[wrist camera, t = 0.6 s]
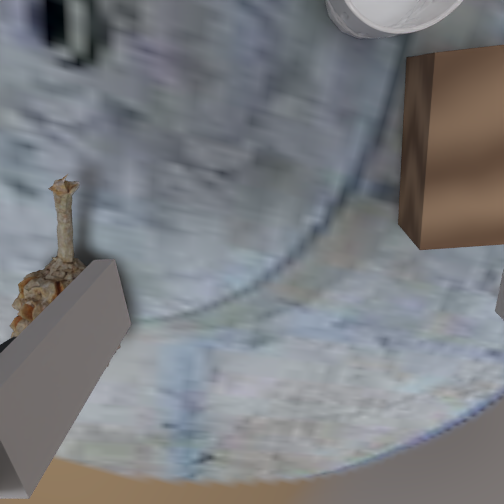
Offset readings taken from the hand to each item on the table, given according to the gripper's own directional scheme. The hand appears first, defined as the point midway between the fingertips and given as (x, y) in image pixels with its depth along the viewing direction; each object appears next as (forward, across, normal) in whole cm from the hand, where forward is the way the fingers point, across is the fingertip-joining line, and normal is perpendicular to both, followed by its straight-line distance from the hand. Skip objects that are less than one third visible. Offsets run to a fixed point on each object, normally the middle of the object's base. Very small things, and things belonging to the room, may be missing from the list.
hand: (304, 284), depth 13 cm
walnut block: (+23, +17, 0) cm, 28 cm away
